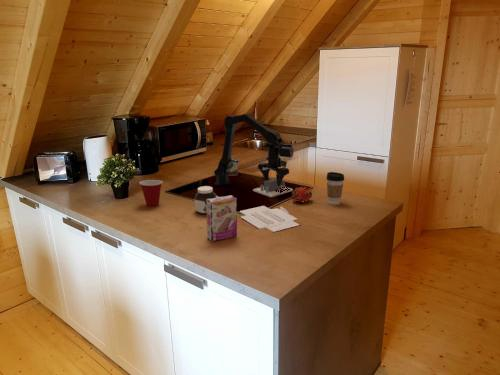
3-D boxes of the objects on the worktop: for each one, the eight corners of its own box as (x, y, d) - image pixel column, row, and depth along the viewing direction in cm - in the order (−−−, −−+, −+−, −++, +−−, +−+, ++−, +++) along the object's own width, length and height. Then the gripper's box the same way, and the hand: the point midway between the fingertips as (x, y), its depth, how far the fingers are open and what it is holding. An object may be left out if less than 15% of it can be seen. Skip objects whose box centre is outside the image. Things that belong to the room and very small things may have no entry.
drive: (269, 191, 210) (270, 182, 208) (263, 189, 213) (264, 180, 211) (281, 188, 215) (281, 179, 214) (275, 186, 219) (275, 177, 217)
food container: (240, 173, 249) (240, 157, 246) (239, 175, 244) (239, 159, 240) (221, 172, 251) (221, 157, 248) (219, 175, 245) (219, 159, 242)
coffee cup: (326, 199, 200) (327, 170, 196) (343, 201, 198) (345, 172, 193) (324, 205, 193) (325, 175, 188) (341, 206, 190) (343, 176, 186)
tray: (270, 197, 204) (271, 189, 203) (253, 190, 214) (253, 183, 213) (292, 190, 214) (292, 183, 213) (274, 185, 224) (274, 178, 223)
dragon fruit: (289, 206, 196) (309, 205, 201) (298, 200, 189) (318, 200, 194) (286, 190, 198) (305, 190, 204) (295, 184, 191) (315, 184, 197)
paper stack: (267, 235, 161) (267, 227, 160) (233, 216, 184) (232, 209, 183) (306, 225, 171) (306, 217, 170) (269, 208, 194) (269, 201, 193)
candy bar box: (212, 242, 153) (210, 202, 148) (207, 238, 158) (205, 199, 153) (237, 236, 158) (237, 198, 154) (232, 232, 163) (231, 194, 158)
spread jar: (193, 214, 182) (192, 190, 178) (199, 206, 193) (198, 183, 189) (219, 215, 180) (218, 191, 177) (224, 207, 191) (223, 184, 187)
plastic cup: (168, 202, 198) (166, 179, 194) (157, 209, 188) (155, 185, 185) (149, 200, 201) (147, 177, 198) (137, 207, 191) (134, 183, 188)
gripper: (297, 156, 207) (296, 185, 211) (272, 150, 220) (272, 177, 225) (281, 159, 200) (281, 189, 204) (257, 153, 213) (257, 181, 218)
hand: (273, 184), depth 213 cm, fingers open, 9 cm apart
